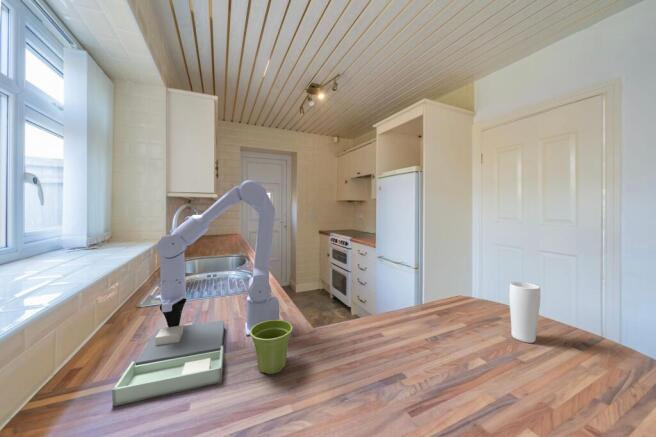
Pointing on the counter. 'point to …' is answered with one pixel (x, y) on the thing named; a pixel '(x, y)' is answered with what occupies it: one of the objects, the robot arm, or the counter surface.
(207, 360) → the tile
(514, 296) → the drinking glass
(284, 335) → the plant pot
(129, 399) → the tray
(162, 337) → the tile
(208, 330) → the board
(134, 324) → the counter surface
